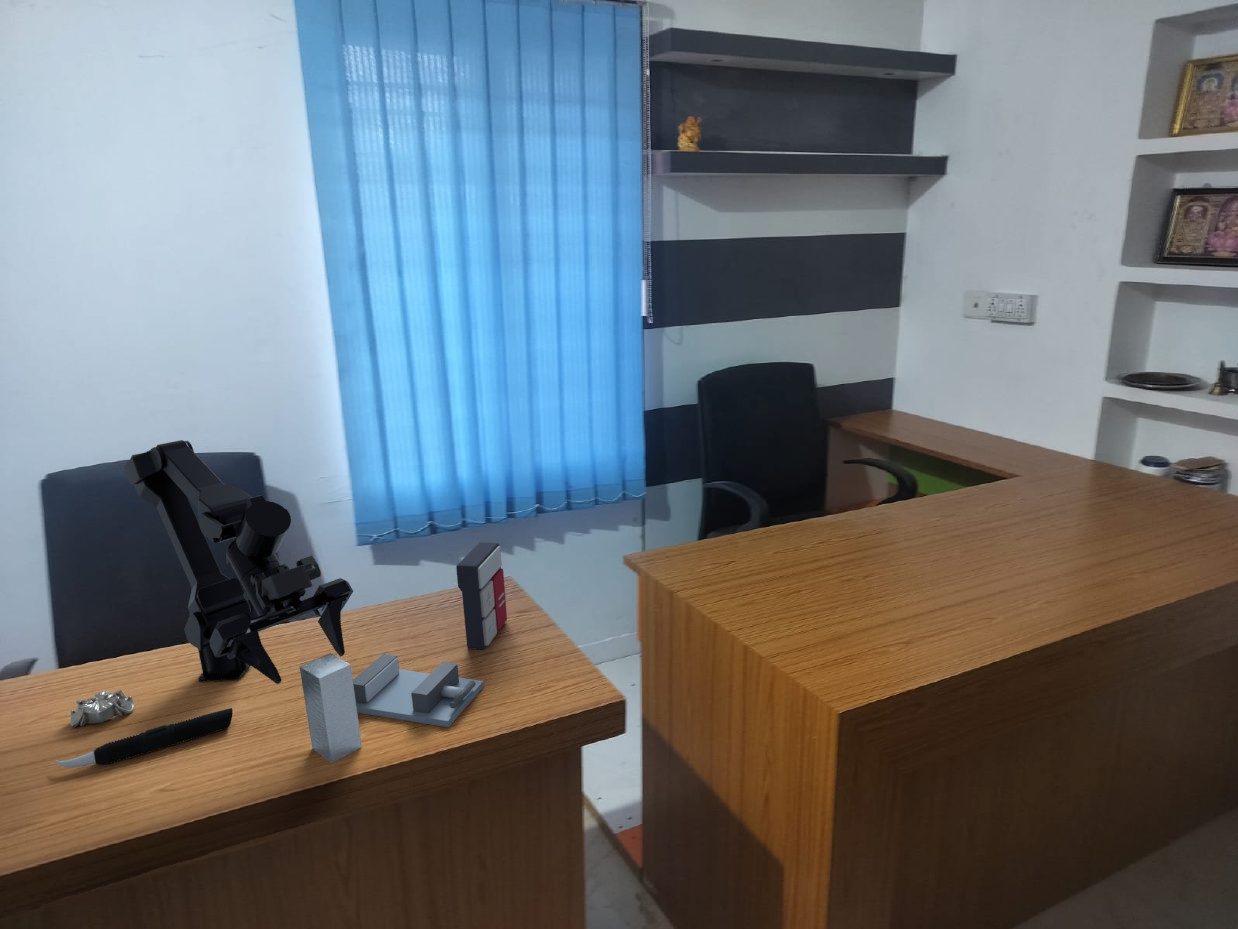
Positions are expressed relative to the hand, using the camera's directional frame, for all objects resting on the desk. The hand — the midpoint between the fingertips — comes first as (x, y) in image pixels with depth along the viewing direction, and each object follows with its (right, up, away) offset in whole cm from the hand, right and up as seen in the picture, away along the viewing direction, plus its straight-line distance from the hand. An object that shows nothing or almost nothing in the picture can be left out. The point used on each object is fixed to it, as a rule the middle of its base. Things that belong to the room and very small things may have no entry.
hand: (312, 668), depth 111 cm
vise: (+11, -7, +12) cm, 18 cm away
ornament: (-35, -10, +11) cm, 38 cm away
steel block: (+3, -11, +1) cm, 11 cm away
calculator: (+19, -2, +31) cm, 36 cm away
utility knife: (-23, -12, +2) cm, 26 cm away
